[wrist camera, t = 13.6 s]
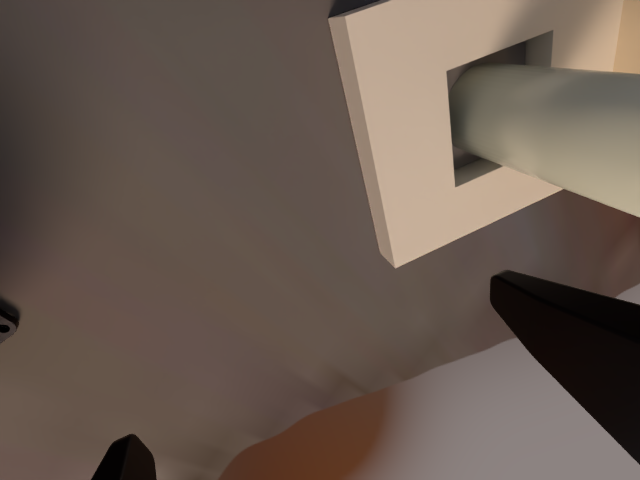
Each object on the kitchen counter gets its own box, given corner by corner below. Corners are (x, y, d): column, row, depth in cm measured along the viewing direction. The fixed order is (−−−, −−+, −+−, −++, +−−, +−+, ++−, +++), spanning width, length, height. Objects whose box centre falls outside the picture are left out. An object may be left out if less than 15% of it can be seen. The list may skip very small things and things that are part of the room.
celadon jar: (473, 165, 24) (759, 284, 13) (427, 120, 21) (735, 216, 10) (526, 98, 23) (889, 158, 12) (485, 42, 21) (900, 47, 9)
